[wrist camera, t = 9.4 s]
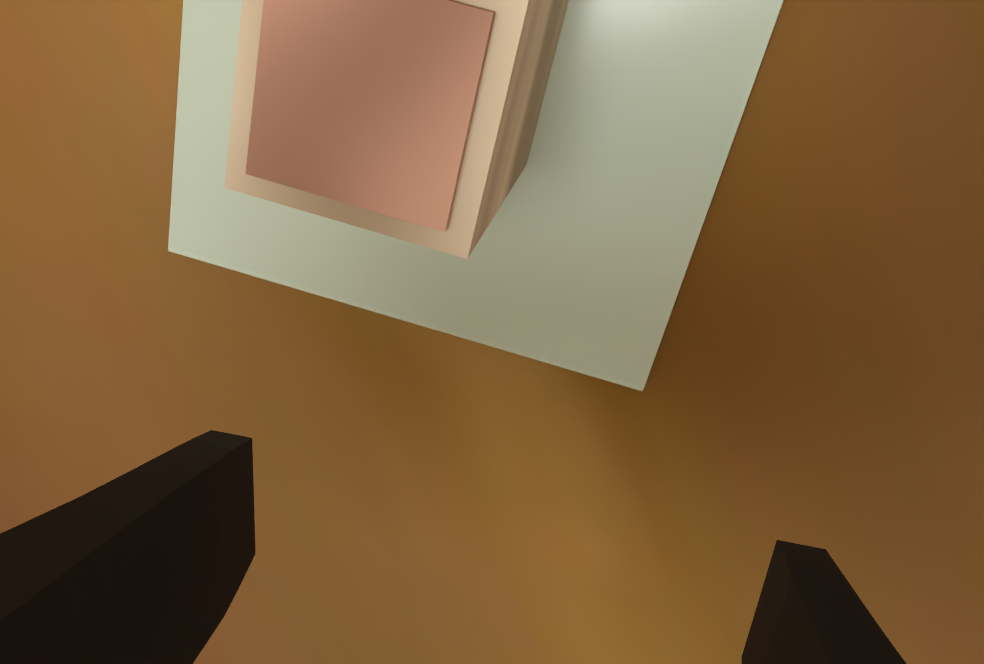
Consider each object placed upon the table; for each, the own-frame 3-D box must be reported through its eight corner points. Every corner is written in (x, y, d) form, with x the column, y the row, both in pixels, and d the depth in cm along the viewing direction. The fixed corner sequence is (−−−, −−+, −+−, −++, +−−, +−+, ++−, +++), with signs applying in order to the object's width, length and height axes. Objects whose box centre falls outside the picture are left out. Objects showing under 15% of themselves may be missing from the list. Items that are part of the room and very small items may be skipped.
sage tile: (846, -184, 15) (850, -187, 15) (643, 383, 21) (642, 391, 20) (215, -338, 16) (204, -344, 16) (176, 245, 22) (168, 250, 21)
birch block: (576, -31, 17) (529, -11, 11) (526, 164, 19) (465, 263, 13) (382, -83, 17) (244, -88, 12) (351, 115, 19) (218, 191, 14)
